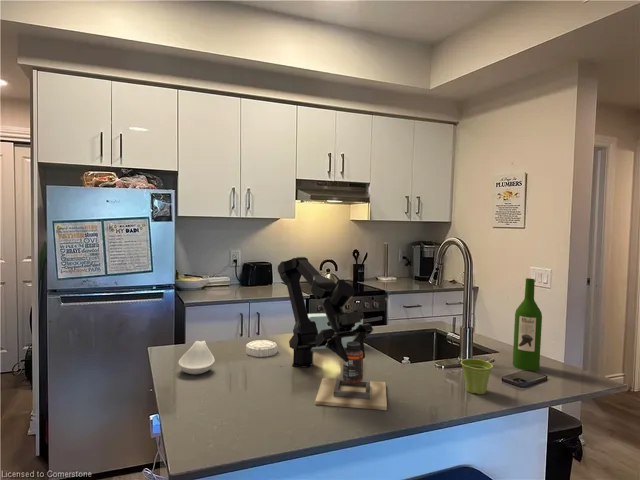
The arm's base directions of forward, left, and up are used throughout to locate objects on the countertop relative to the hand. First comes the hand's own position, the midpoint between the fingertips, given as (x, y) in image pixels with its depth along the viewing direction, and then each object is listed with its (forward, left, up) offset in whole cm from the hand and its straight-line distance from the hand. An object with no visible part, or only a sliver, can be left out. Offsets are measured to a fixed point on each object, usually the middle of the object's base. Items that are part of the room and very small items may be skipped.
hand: (355, 359), depth 127 cm
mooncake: (-38, +35, -11) cm, 53 cm away
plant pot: (+37, +11, -11) cm, 40 cm away
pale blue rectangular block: (-11, +48, -11) cm, 51 cm away
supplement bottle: (-1, +1, -7) cm, 7 cm away
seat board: (-1, +1, -11) cm, 11 cm away
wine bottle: (+61, +38, -11) cm, 73 cm away
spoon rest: (-55, +16, -11) cm, 59 cm away
